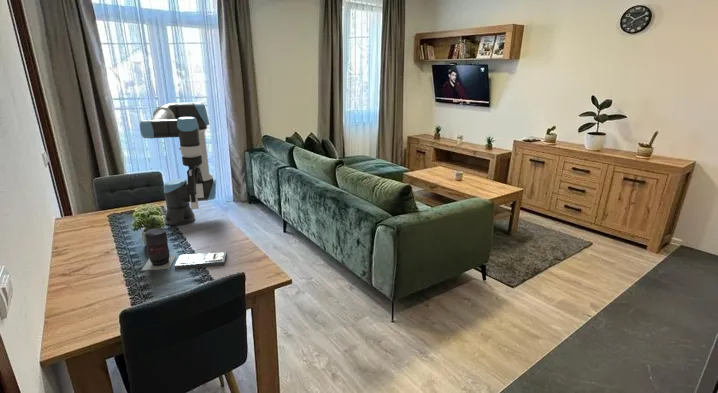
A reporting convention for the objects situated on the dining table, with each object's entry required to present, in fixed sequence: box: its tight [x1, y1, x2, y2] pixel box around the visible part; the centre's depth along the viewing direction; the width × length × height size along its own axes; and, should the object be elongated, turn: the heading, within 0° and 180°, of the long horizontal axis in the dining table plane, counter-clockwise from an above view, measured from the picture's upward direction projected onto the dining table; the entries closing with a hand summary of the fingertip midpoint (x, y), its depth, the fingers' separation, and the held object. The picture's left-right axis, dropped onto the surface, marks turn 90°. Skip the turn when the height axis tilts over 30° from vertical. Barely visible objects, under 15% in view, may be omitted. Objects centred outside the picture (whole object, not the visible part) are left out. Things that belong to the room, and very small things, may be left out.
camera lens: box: [144, 227, 170, 266], centre depth 160 cm, size 8×8×15 cm
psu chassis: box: [173, 250, 228, 271], centre depth 164 cm, size 10×20×2 cm, turn 102°
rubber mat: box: [141, 255, 177, 272], centre depth 163 cm, size 11×11×1 cm
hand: (198, 203), depth 161 cm, fingers open, 13 cm apart
